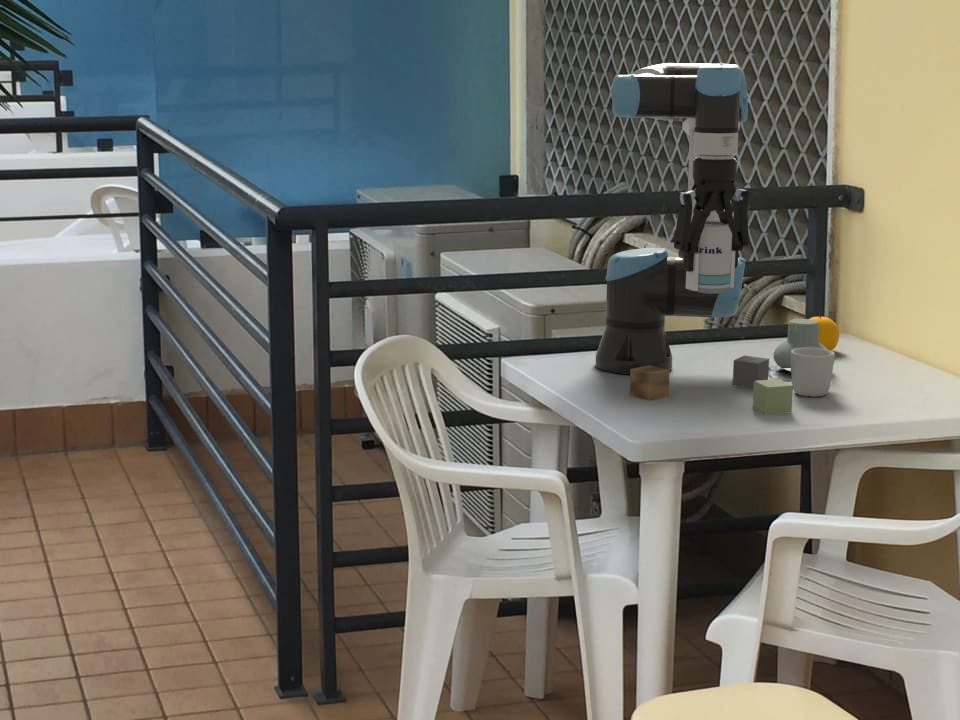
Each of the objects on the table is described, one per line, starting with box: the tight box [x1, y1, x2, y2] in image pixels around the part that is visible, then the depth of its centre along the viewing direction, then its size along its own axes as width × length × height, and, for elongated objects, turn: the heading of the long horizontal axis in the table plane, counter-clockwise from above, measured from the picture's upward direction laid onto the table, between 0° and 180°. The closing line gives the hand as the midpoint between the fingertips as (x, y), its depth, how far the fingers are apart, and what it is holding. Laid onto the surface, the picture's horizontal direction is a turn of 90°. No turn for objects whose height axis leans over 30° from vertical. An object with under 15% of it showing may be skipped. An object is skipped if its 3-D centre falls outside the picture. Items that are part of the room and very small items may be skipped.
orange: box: [809, 315, 840, 351], centre depth 306 cm, size 8×8×8 cm
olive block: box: [752, 378, 794, 415], centre depth 259 cm, size 5×5×5 cm
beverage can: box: [695, 221, 732, 294], centre depth 258 cm, size 7×7×12 cm
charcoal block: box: [732, 354, 770, 390], centre depth 277 cm, size 5×5×5 cm
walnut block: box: [629, 365, 670, 401], centre depth 269 cm, size 5×5×5 cm
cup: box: [790, 347, 836, 398], centre depth 271 cm, size 11×8×8 cm
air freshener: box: [772, 318, 828, 369], centre depth 288 cm, size 11×8×10 cm
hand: (709, 287), depth 259 cm, fingers closed on beverage can, 7 cm apart
